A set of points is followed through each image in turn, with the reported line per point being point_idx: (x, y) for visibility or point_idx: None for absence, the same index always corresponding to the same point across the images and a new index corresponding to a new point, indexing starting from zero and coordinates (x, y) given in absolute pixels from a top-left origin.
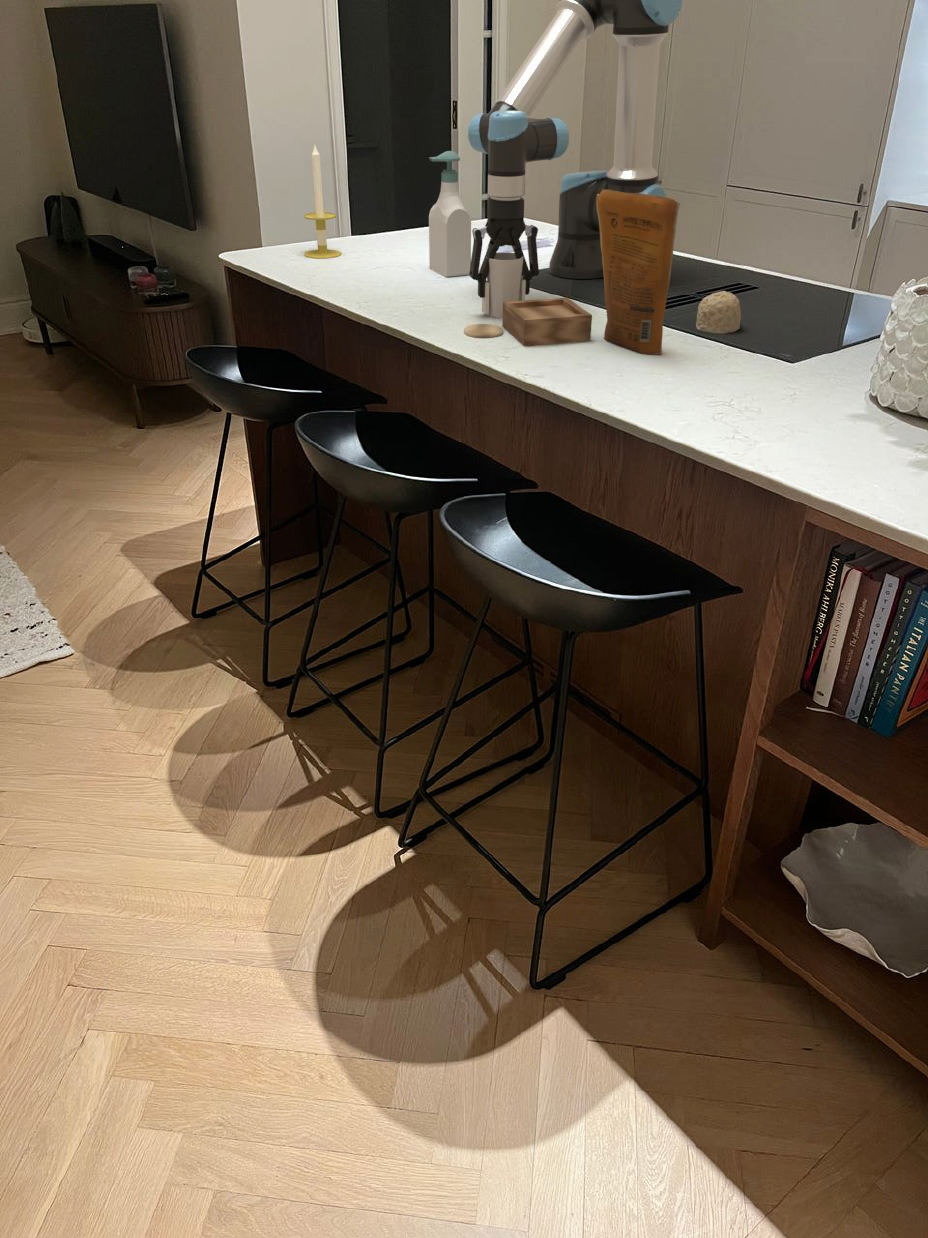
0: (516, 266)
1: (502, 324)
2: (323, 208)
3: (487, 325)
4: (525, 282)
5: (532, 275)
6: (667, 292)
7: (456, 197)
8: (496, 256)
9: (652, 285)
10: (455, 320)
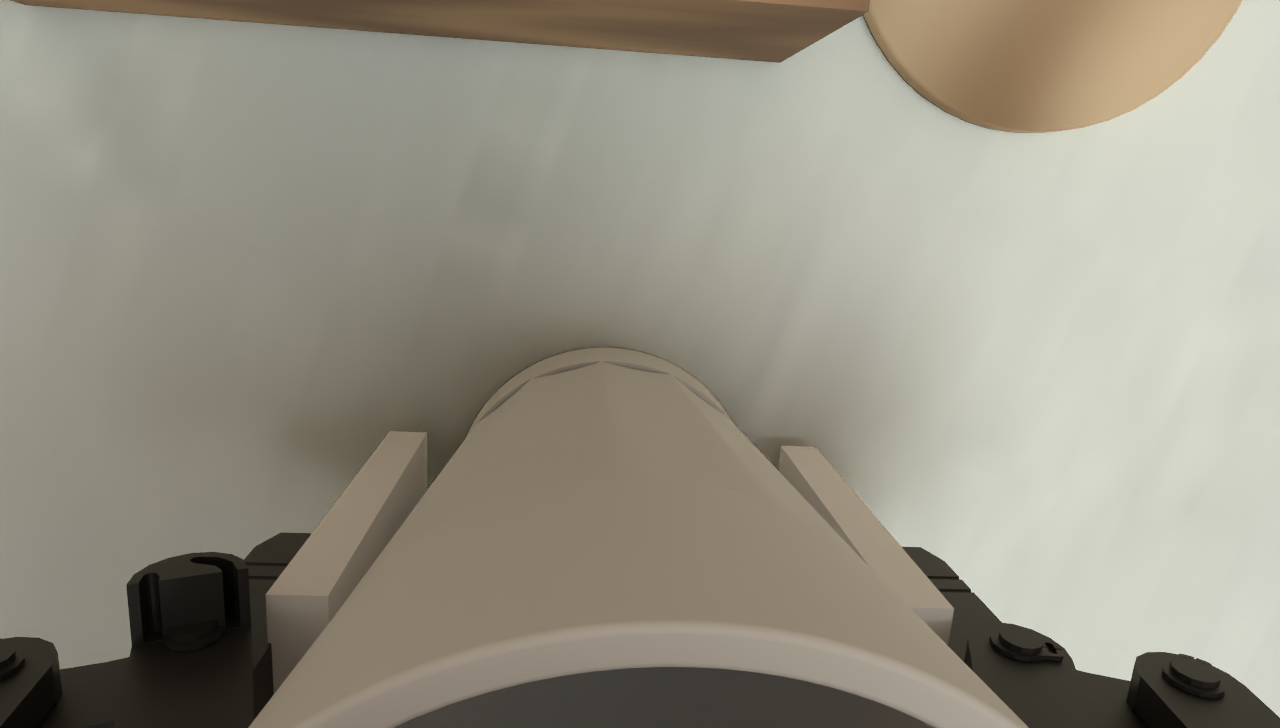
0: (466, 571)
1: (784, 59)
2: None
3: (964, 41)
4: (283, 574)
5: (91, 675)
6: None
7: None
8: None
9: None
10: (1108, 417)
